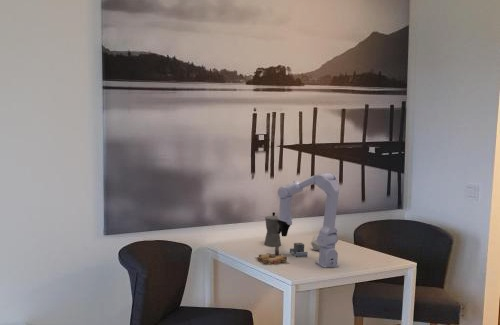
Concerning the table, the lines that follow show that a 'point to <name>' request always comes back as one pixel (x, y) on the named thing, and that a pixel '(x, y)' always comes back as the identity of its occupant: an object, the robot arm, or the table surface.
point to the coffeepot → (272, 231)
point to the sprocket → (272, 257)
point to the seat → (298, 253)
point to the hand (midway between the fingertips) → (284, 236)
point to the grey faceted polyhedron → (315, 243)
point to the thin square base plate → (273, 263)
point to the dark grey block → (298, 247)
